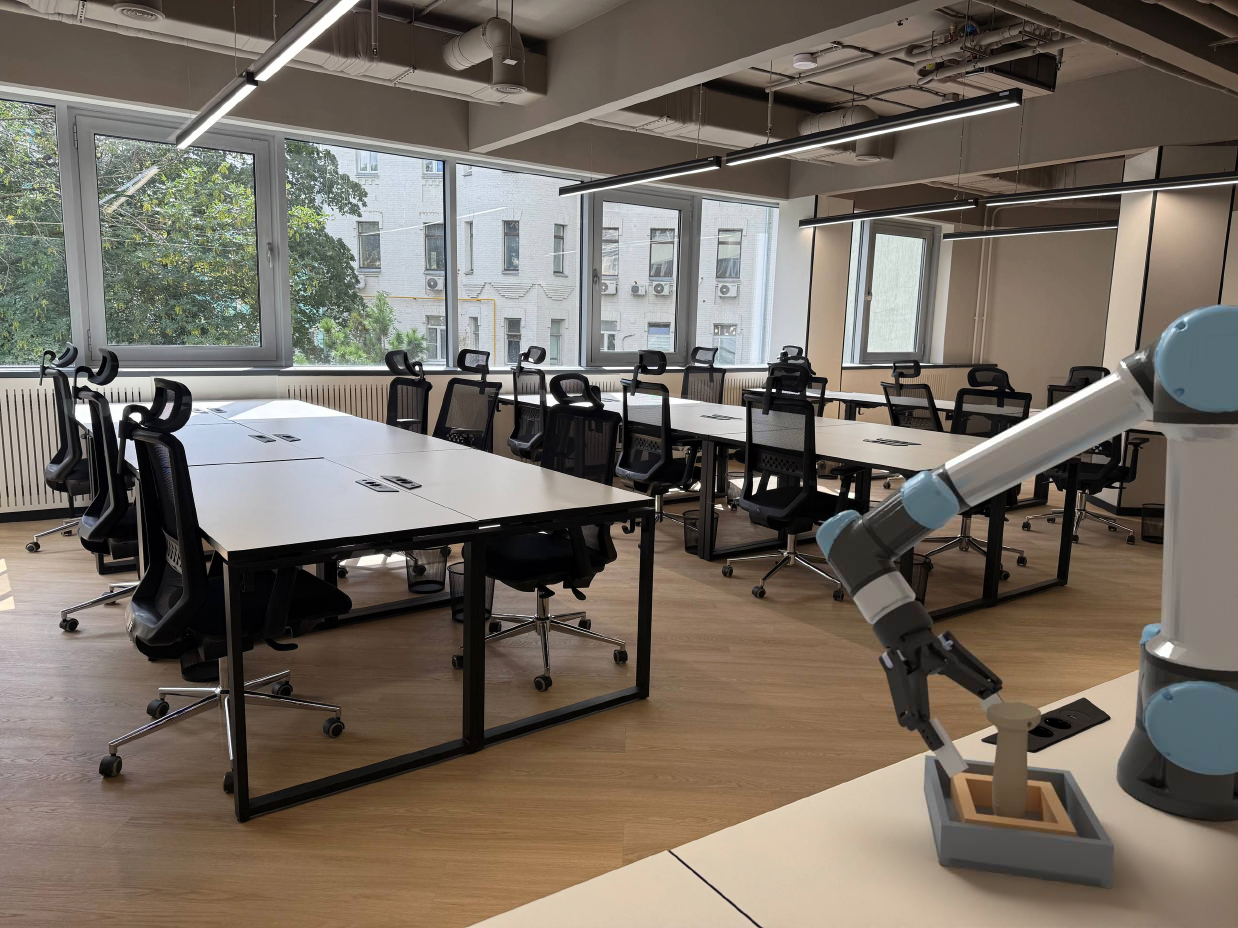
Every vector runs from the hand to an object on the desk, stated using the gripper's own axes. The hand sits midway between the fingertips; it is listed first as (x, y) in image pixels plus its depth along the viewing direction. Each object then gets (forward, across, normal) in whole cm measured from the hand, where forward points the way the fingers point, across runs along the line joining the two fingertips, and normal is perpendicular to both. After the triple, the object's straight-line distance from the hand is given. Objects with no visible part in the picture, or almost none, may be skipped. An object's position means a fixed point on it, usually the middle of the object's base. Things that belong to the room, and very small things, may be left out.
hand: (990, 757), depth 105 cm
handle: (+8, 0, -4) cm, 9 cm away
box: (+8, 0, -4) cm, 9 cm away
